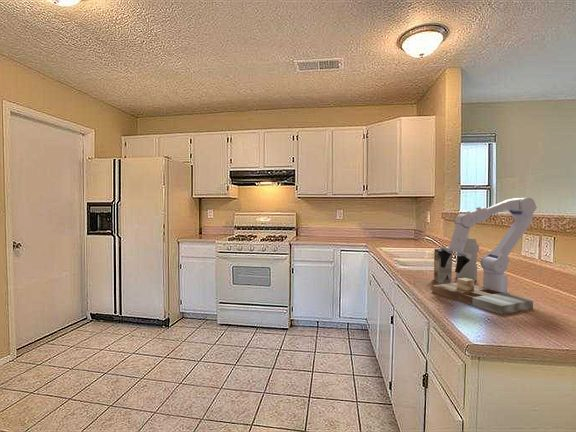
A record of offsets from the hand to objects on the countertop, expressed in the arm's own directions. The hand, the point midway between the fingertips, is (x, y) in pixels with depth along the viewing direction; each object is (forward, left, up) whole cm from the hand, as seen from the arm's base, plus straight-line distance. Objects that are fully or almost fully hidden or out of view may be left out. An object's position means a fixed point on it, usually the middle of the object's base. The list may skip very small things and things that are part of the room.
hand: (449, 269), depth 137 cm
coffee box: (-13, -14, -10) cm, 22 cm away
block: (-2, +7, -7) cm, 10 cm away
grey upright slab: (-30, -14, -10) cm, 34 cm away
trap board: (-2, +13, -10) cm, 16 cm away
